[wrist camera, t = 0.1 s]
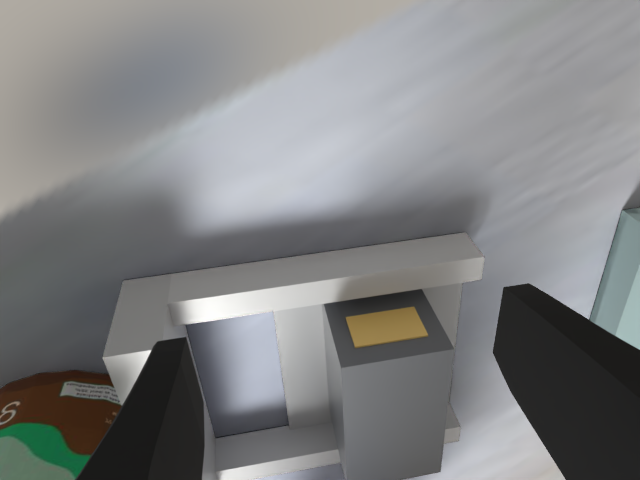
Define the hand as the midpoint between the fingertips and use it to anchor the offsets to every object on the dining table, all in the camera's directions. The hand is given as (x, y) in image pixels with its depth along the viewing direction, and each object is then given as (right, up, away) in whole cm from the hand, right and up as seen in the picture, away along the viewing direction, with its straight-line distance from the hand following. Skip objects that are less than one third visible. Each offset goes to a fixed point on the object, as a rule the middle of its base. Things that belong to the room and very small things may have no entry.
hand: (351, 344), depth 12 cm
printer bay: (-1, -3, +14) cm, 14 cm away
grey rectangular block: (+2, -3, +14) cm, 14 cm away
